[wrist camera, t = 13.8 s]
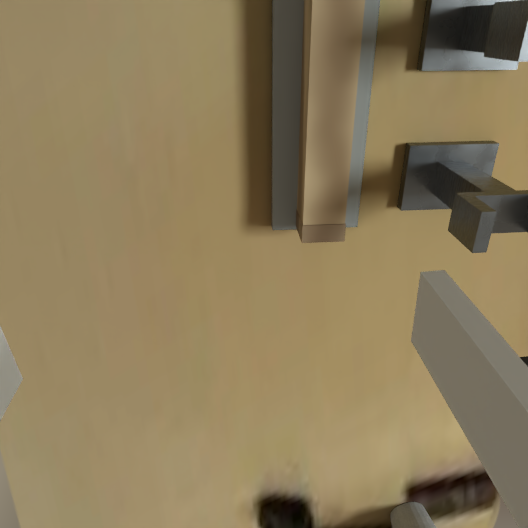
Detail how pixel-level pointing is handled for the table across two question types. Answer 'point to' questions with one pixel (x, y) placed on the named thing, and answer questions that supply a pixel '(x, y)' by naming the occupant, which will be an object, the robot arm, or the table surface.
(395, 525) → the house plant
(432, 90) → the table surface
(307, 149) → the rail
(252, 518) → the table surface
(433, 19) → the post near
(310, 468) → the table surface
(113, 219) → the table surface
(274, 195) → the mat
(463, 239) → the post far
